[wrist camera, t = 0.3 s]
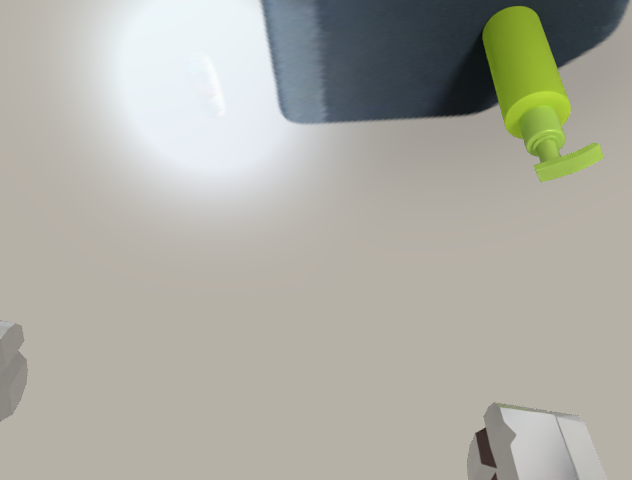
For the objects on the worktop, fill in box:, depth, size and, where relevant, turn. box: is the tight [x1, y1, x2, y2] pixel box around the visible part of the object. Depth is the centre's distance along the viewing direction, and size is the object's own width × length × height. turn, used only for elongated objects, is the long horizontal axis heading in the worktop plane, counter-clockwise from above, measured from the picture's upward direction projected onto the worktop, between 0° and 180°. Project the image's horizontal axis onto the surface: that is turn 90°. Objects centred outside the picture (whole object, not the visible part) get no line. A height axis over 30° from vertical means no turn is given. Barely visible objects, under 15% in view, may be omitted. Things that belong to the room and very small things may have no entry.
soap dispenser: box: [482, 6, 603, 182], centre depth 58 cm, size 6×7×20 cm
